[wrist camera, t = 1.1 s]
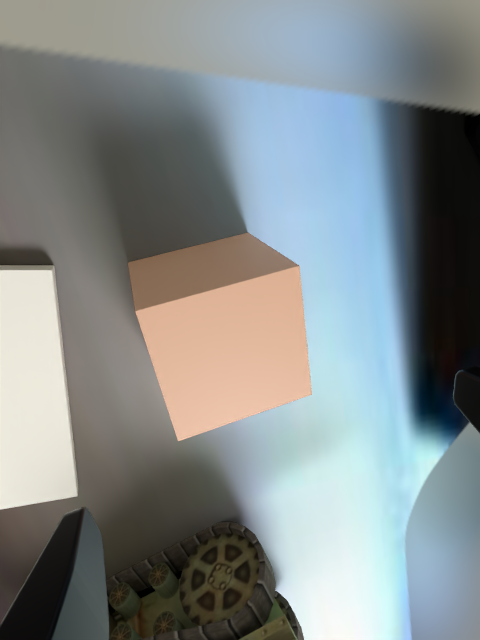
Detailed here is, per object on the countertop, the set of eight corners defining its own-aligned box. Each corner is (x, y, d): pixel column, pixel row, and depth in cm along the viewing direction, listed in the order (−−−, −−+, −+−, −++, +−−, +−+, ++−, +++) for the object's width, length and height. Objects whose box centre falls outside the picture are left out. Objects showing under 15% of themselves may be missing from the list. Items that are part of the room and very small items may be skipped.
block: (247, 232, 16) (299, 265, 11) (263, 334, 18) (311, 394, 14) (127, 262, 15) (135, 310, 11) (160, 365, 17) (178, 441, 13)
